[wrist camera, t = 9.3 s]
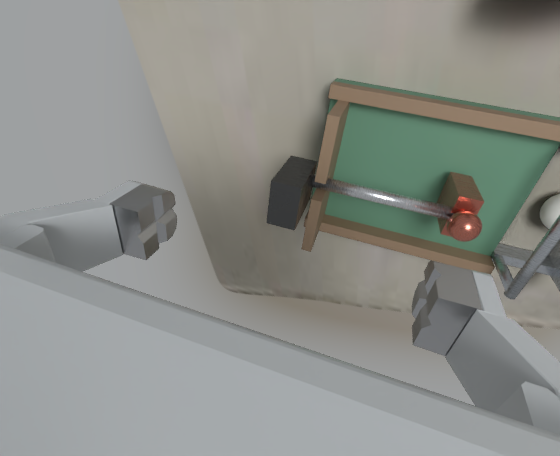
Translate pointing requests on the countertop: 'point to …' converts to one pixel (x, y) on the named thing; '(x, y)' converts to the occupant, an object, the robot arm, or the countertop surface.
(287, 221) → the rod
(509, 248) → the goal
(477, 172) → the pitch
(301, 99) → the countertop surface
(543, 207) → the ball
